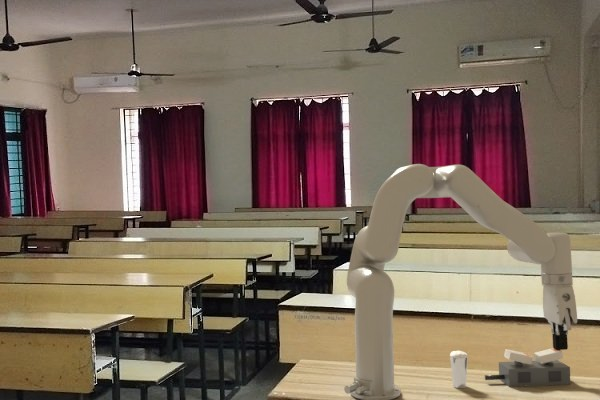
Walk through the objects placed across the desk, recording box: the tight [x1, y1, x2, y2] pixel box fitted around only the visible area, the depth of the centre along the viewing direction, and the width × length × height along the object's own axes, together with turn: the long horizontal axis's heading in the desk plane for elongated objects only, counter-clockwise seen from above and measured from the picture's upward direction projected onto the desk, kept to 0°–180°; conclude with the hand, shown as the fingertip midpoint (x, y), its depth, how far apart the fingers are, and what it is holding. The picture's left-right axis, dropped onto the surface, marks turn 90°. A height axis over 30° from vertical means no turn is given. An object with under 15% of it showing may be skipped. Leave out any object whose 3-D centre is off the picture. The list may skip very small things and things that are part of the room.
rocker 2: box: [533, 347, 564, 364], centre depth 158 cm, size 6×4×2 cm, turn 93°
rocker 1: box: [503, 348, 534, 364], centre depth 157 cm, size 6×4×2 cm, turn 92°
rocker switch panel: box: [484, 360, 571, 388], centre depth 157 cm, size 21×7×5 cm, turn 92°
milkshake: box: [449, 348, 472, 389], centre depth 155 cm, size 4×5×10 cm
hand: (560, 348), depth 158 cm, fingers closed
